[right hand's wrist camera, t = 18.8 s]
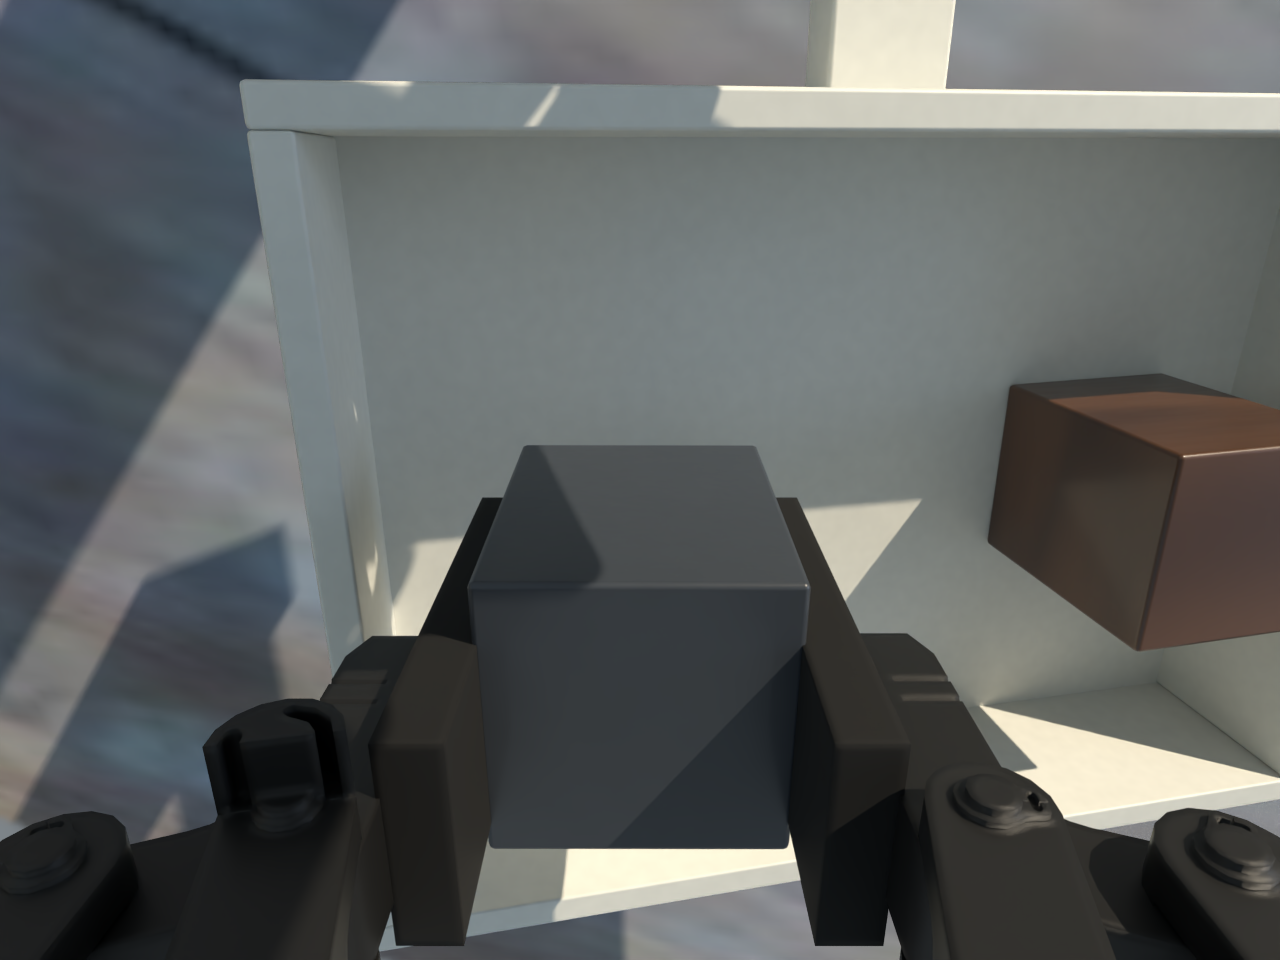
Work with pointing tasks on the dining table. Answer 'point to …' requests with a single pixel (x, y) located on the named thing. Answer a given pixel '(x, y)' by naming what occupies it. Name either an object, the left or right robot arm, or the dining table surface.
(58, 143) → the dining table surface
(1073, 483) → the walnut block
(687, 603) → the charcoal block
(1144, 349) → the tray
